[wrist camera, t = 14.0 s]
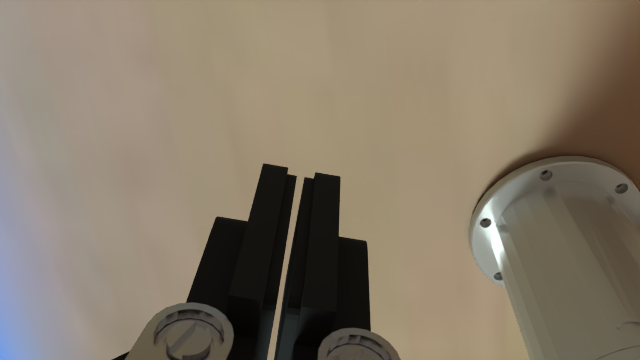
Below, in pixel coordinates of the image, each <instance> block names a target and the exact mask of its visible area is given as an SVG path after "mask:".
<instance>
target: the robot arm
mask: <svg viewBox="0 0 640 360" xmlns="http://www.w3.org/2000/svg"><path fill="white" fill-rule="evenodd" d="M287 172H288V168H287V167H281V166H275V165H270V164H263V166H262V170H261V174H260V178H259V182H258V185H257V189H256V193H255V197H254V201H253V204H252V208H251V212H250V216H249V219H248V221H242V220H236V219H230V218H224V217H218V216H217V217H216V219H215V222H214V224H213V227H212V230H211V233H210V236H209V238H208V241H207V244H206V247H205V250H204V253H203V256H202V258H201V261H200V264H199V267H198V270H197V273H196V276H195V278H194V281H193V284H192V287H191V290H190V293H189V296H188V298H187V301H186V303H179V304H176V305H173V306H170V307H167V308H165V309H163V310H162V311H160V312H159V313H157V314H156V315H155V316H154V317H153V318H152V319H151V320H150V321H149V322H148V324H147V325H146V327H145V328H144V330H143V331H142V333H141V335H140V336H139V338H138V339H137V341H136V343H135V344H134V346H133V347H132V349H131V350H130V351H129V352H127V353H125V354H123V355H121V356H119V357H117V358H115V359H112V360H267V355H268V349H269V344H270V338H271V333H272V327H273V321H274V316H275V310H276V304H277V298H278V292H279V286H280V279H281V273H282V267H283V260H284V254H285V248H286V241H287V235H288V229H289V222H290V216H291V210H292V203H293V197H294V191H295V184H296V178H297V176H295V175H289V174H287ZM339 205H340V176H334V175H328V174H322V173H315V176H314V179H312V178H306V177H305V178H304V183H303V189H302V194H301V199H300V205H299V210H298V216H297V221H296V226H295V232H294V237H293V243H292V248H291V254H290V259H289V264H288V270H287V275H286V282H285V288H284V295H283V302H282V309H281V315H280V322H279V329H278V336H277V343H276V350H275V357H274V360H401V359H400V357H399V355H398V353H397V351H396V350H395V349H394V348H393V346H392V345H391V344H390V343H389V342H388V341H387V340H385V339H384V338H382V337H381V336H380V335H378V334H375V333H373V332H371V327H370V301H369V276H368V250H367V242H366V241H363V240H357V239H351V238H345V237H339ZM469 243H470V247H471V251H472V255H473V257H474V259H475V262H476V264H477V266H478V267H479V268H480V270H481V271H482V272H483V274H484V275H485V276H486V277H487V278H488V279H490V280H491V281H492V282H493V283H495V284H497V285H499V286H501V287H502V288H504V289H506V290H507V293H508V296H509V299H510V302H511V305H512V307H513V310H514V313H515V316H516V319H517V322H518V325H519V328H520V331H521V334H522V337H523V340H524V343H525V346H526V349H527V352H528V355H529V358H530V360H640V192H639V190H638V189H637V187H636V186H635V185H634V183H633V182H632V181H631V180H630V179H629V178H628V177H627V176H626V174H625V173H624V172H622V171H621V170H619V169H618V168H616V167H614V166H613V165H611V164H609V163H606V162H604V161H601V160H598V159H595V158H589V157H583V156H559V157H552V158H546V159H542V160H539V161H536V162H532V163H529V164H527V165H525V166H522V167H520V168H518V169H516V170H514V171H512V172H511V173H509V174H508V175H506V176H505V177H503V178H502V179H500V180H499V181H498V182H497V183H496V184H495V185H493V186H492V187H491V188H490V189H489V190H488V191H487V192H486V193H485V195H484V196H483V198H482V199H481V200H480V202H479V203H478V205H477V207H476V209H475V211H474V213H473V215H472V218H471V222H470V227H469Z"/></svg>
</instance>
